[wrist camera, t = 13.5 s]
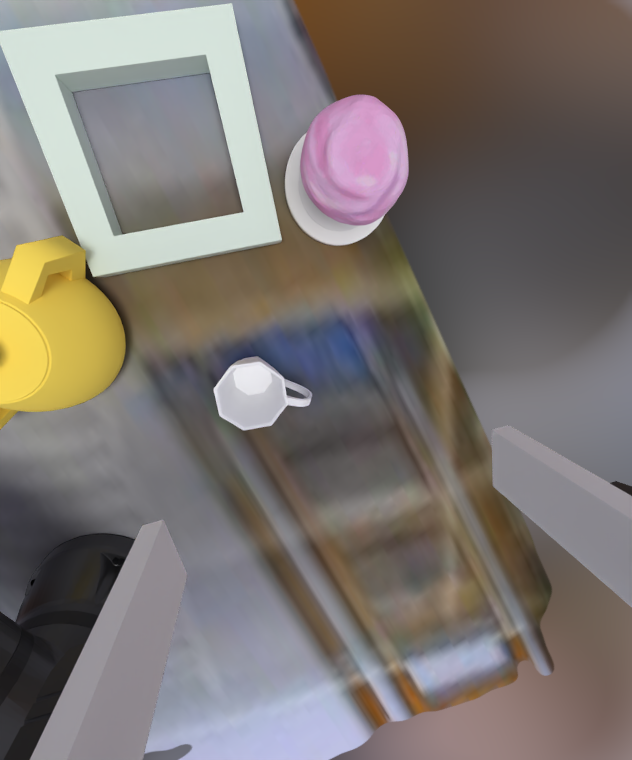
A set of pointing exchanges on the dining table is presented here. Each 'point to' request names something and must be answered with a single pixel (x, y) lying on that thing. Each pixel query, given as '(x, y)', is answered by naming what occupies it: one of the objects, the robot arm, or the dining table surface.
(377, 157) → the cupcake
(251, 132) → the frame
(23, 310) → the teapot
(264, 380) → the cup
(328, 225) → the plate
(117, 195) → the dining table surface
